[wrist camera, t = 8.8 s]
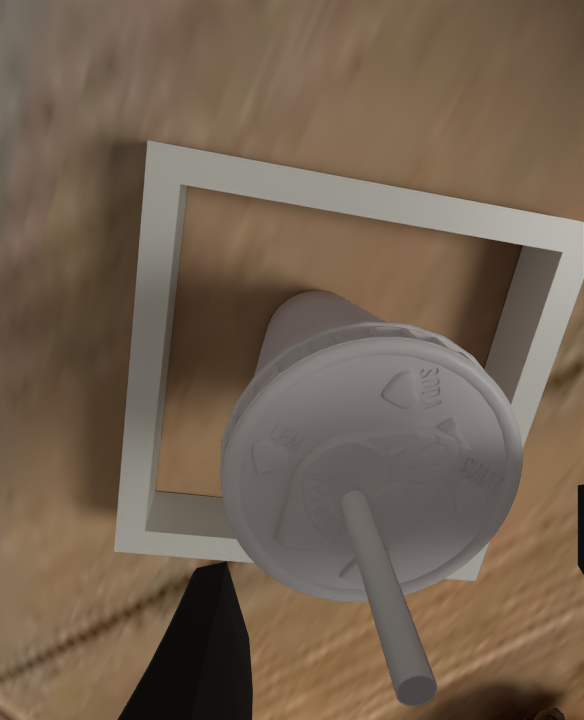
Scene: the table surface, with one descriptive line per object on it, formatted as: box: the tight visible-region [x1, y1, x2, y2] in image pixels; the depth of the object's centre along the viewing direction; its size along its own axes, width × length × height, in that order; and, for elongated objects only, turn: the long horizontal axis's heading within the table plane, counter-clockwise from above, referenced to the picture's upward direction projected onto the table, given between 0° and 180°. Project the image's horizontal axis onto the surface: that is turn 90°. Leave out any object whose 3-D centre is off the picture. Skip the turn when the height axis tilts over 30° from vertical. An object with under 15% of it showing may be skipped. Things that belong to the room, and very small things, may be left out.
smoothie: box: [220, 291, 523, 706], centre depth 14 cm, size 6×6×14 cm
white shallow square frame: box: [114, 140, 584, 581], centre depth 19 cm, size 14×14×2 cm
